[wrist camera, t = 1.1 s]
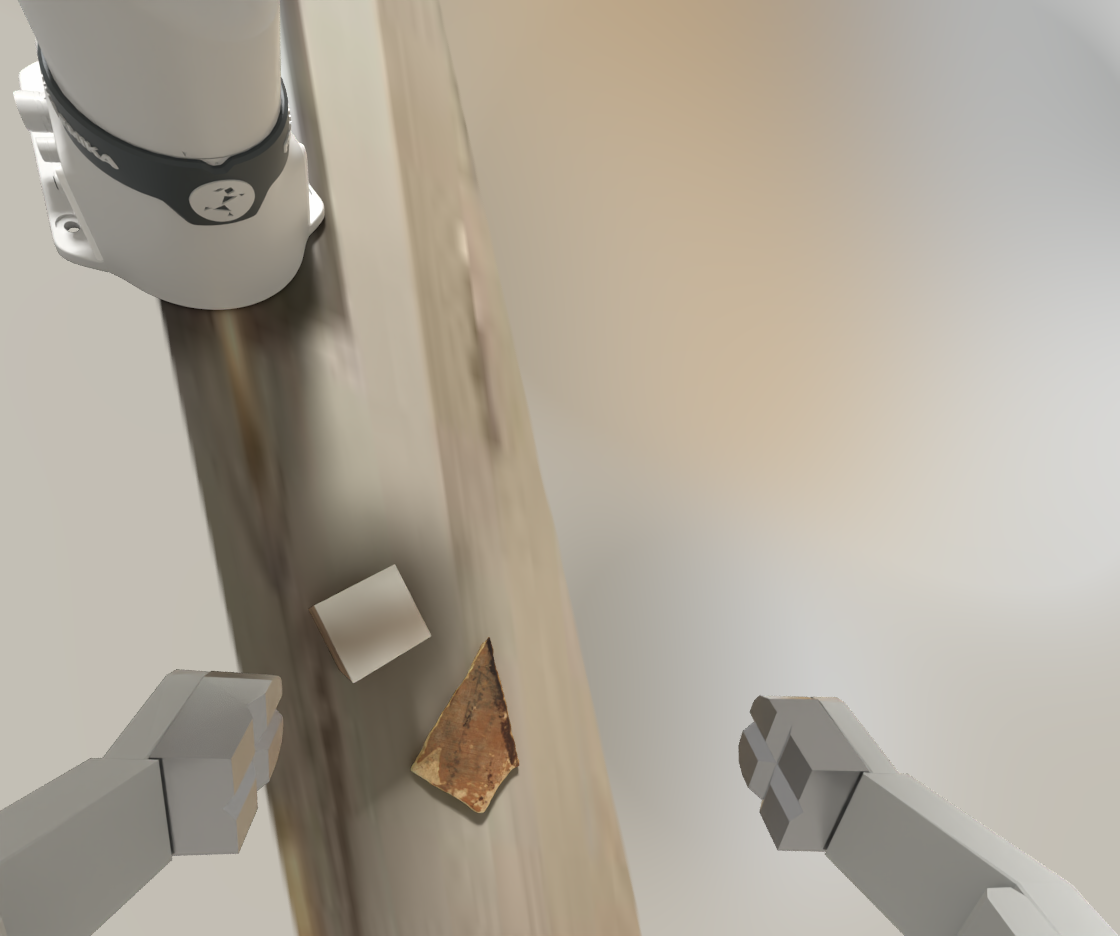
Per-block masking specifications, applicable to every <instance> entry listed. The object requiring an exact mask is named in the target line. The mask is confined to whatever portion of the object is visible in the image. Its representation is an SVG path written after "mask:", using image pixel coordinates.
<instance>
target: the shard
mask: <svg viewBox="0 0 1120 936" xmlns="http://www.w3.org/2000/svg"><path fill="white" fill-rule="evenodd" d="M518 766H519V760H518V758H517V752H516V748H515V742H514V738H513V736H512V732H511V724H510V720H509V716H508V711H507V705H506V701H505V698H504V693H503V689H502V685H501V681H500V678H499V675H498V672H497V670H496V666H495V662H494V657H493V648H492V645H491V641H490V637H488V639H487V640H486V641H485V643H482V645H481V647H480V650H479V651H478V653H477V655H476V657H475V658H474V661H473V662H472V665H471V667H470V670H469V672H468V674H467V676H466V678H465V679H464V681H463V682H462V684H461V685H460V686H459V687H458V689H457V690H456V691H455V692H454V694H453V696H452V698H451V699H450V701H449V703H448V705H447V707H446V708H445V709H444V711H443V712H442V713H441V716H440V717H439V719H438V721H437V723H436V725H435V726H434V727H433V729H432V730H431V732H430V733H429V734H428V736H427V738H426V740H425V742H424V745H423V749H422V750H421V751H420V753H419V755H418V756H417V758H416V760H415V762H414V764H413V765H412V767H411V771H412V772H413V773H415V774H416V775H418V776H420V777H422V778H423V779H425V780H427V781H428V782H429V783H430V784H431V785H433V786H435V787H437V788H439V789H440V790H442V791H444V792H446V793H448V794H450V795H452V796H454V797H456V798H457V799H459V800H460V801H462V802H463V803H464V804H466V805H467V806H468V807H470V809H471V810H473V811H475V812H477V813H483V812H485V810H486V808H487V807H488V805H489V803H490V801H491V799H492V797H493V796H494V794H495V792H496V790H497V788H498V787H499V785H500V784H501V782H502V781H503V780H504V779H505V778H506V776H507V775H508V774H509V772H510V771H511V770H512V769H514V768H516V767H518Z"/></svg>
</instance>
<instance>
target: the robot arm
mask: <svg viewBox="0 0 1120 936" xmlns="http://www.w3.org/2000/svg"><path fill="white" fill-rule="evenodd" d="M18 2H19V4H20V6H21V8H22V10H23V12H24V14H25V16H26V18H27V20H28V22H29V25H30V27H31V29H32V31H33V33H34V35H35V37H36V40H35V45H36V50H37V56H38V61H37V62H34V63H33V64H31V65H29V66H27V67H26V68H24V69H23V70H22V71H20V73H19V85H20V90H17V91H14V92H13V93H14V98H15V102H16V105H17V107H18V110H19V113H20V115H21V118H22V120H23V122H24V124H25V126H26V128H27V129H28V131H30V135H31V140H32V145H33V149H34V154H35V159H36V164H37V168H38V172H39V177H40V182H41V187H42V191H43V195H44V200H45V205H46V210H47V214H48V219H49V224H50V228H51V233H52V237H53V241H54V244H55V246H56V249H57V251H58V253H59V254H60V255H61V256H62V257H63V258H65V259H66V260H68V261H70V262H73V263H75V264H78V265H82V266H85V267H89V268H93V269H97V270H102V271H105V272H110V273H112V274H114V275H116V276H118V277H120V278H122V279H124V280H126V281H127V282H129V283H131V284H132V285H134V286H136V287H137V288H139V289H141V290H142V291H144V292H146V293H148V294H150V295H152V296H155V297H157V298H159V299H162V300H165V301H168V302H171V303H174V304H178V305H181V306H186V307H191V308H198V309H210V310H223V309H233V308H240V307H245V306H249V305H252V304H255V303H258V302H261V301H263V300H265V299H267V298H269V297H271V296H273V295H274V294H276V293H277V292H279V291H280V290H281V289H283V288H284V287H285V286H286V285H287V284H288V283H289V282H290V281H291V280H292V278H293V277H294V276H295V274H296V273H297V271H298V269H299V267H300V265H301V262H302V259H303V256H304V251H305V246H306V242H307V239H308V237H309V235H310V234H311V233H312V232H313V231H314V230H315V229H316V228H317V227H318V226H319V225H320V223H321V222H322V220H323V218H324V215H325V213H324V204H323V202H322V200H321V199H320V197H319V196H318V195H317V193H316V192H315V191H314V189H313V188H312V187H311V186H310V184H309V182H308V165H307V154H306V150H305V147H304V145H303V144H301V143H298V141H297V139H296V138H295V136H294V135H293V133H292V132H291V116H290V109H289V105H288V98H287V93H286V89H285V86H284V83H283V80H282V78H281V59H280V0H18ZM70 228H79V230H78V231H77V232H69V231H68V230H69V229H70ZM281 697H282V681H281V678H280V677H279V676H278V675H265V674H250V673H234V672H219V671H211V672H206V671H192V670H179V669H176V670H174V671H173V672H171V673H170V674H168V675H167V676H165V678H164V679H163V680H162V682H161V683H160V684H159V686H158V687H157V688H156V689H155V691H154V692H153V693H152V694H151V696H150V697H149V699H148V700H147V701H146V702H145V704H144V705H143V706H142V707H141V709H140V710H139V711H138V713H137V714H136V715H135V716H134V718H133V719H132V720H131V722H130V723H129V724H128V726H127V727H126V728H125V729H124V731H123V732H122V733H121V735H120V736H119V737H118V739H117V740H116V741H115V742H114V744H113V745H112V746H111V748H110V749H109V750H108V751H107V753H106V754H105V756H104V757H103V758H90V759H88V760H87V761H85V762H83V763H81V764H80V765H78V766H77V767H75V768H73V769H71V770H69V771H68V772H66V773H64V774H63V775H61V776H59V777H58V778H56V779H54V780H52V781H51V782H49V783H47V784H45V785H44V786H42V787H40V788H39V789H37V790H35V791H33V792H32V793H30V794H28V795H27V796H25V797H23V798H21V799H20V800H18V801H16V802H15V803H13V804H11V805H9V806H8V807H6V808H4V809H3V810H1V811H0V936H91V935H92V934H93V933H94V932H95V931H96V930H97V929H98V928H99V927H101V926H102V925H103V924H104V923H105V922H106V921H107V920H108V919H109V918H110V917H111V916H112V915H113V914H114V913H116V912H117V911H118V910H119V909H120V908H121V907H122V906H123V905H124V904H125V903H126V902H127V901H128V900H129V899H131V898H132V897H133V896H134V895H135V894H136V893H137V892H138V891H139V890H140V889H141V888H142V887H143V886H145V885H146V883H148V882H149V881H150V880H151V879H152V878H153V877H154V876H155V875H156V874H157V873H158V872H160V870H162V869H163V868H164V867H165V866H166V865H167V864H168V863H169V862H170V861H171V860H172V856H177V855H178V856H179V855H204V854H205V855H207V854H236V853H239V851H240V849H241V846H242V844H243V842H244V840H245V837H246V835H247V832H248V830H249V827H250V826H251V823H252V821H253V818H254V816H255V814H256V812H257V808H258V807H257V791H258V790H259V789H260V788H262V787H263V786H264V785H265V784H267V783H268V782H269V781H270V778H271V776H272V773H273V771H274V768H275V766H276V763H277V759H278V755H279V752H280V748H281V744H282V736H283V716H282V715H281V714H280V713H279V712H278V711H277V709H276V708H277V705H278V703H279V701H280V699H281ZM750 714H751V716H752V717H753V720H754V722H753V723H752V724H751V725H749V726H748V727H747V728H746V729H745V730H743V732H742V736H741V739H740V742H739V764H740V768H741V772H742V775H743V777H744V780H745V782H746V784H747V786H748V788H749V789H750V790H751V791H752V792H754V793H755V794H756V795H757V796H758V797H759V798H761V799H762V803H761V807H760V814H761V816H762V818H763V820H764V823H765V824H766V827H767V829H768V831H769V833H770V835H771V837H772V839H773V842H774V844H775V846H776V848H777V850H782V851H819V852H826V853H825V855H826V856H827V857H828V858H829V859H830V860H831V861H832V862H833V864H835V866H836V867H837V868H838V869H839V870H840V871H841V872H842V873H844V875H845V876H846V877H847V878H848V879H849V880H850V881H851V882H852V883H853V884H854V885H855V886H856V887H857V888H858V889H859V890H860V891H861V892H862V893H863V894H864V895H865V896H866V897H867V898H868V899H869V900H870V901H871V902H872V903H873V904H874V905H875V906H876V907H877V908H878V909H879V910H880V911H881V912H882V913H883V914H884V915H885V916H886V917H887V918H888V919H889V920H890V921H891V923H892V924H893V925H894V926H896V928H897V929H899V931H900V932H902V934H903V935H904V936H1118V935H1117V933H1116V932H1115V931H1114V930H1113V929H1112V928H1111V927H1110V926H1109V925H1108V923H1107V922H1106V921H1105V920H1104V919H1103V918H1102V917H1101V916H1100V915H1099V914H1098V913H1097V912H1096V910H1095V909H1094V908H1093V907H1092V906H1091V905H1090V904H1089V903H1088V901H1087V900H1086V899H1085V898H1084V897H1083V896H1082V895H1081V894H1080V893H1079V891H1078V890H1077V889H1076V888H1075V887H1074V886H1073V885H1072V884H1071V883H1069V882H1068V881H1066V880H1065V879H1063V878H1062V877H1060V876H1059V875H1058V874H1056V873H1055V872H1053V871H1051V870H1050V869H1049V868H1047V867H1045V866H1044V865H1043V864H1041V863H1040V862H1038V861H1037V860H1035V859H1034V858H1032V857H1031V856H1029V855H1028V854H1026V853H1025V852H1023V851H1022V850H1020V849H1019V848H1017V847H1016V846H1014V845H1013V844H1011V843H1010V842H1008V841H1007V840H1005V839H1004V838H1002V837H1001V836H1000V835H998V834H997V833H995V832H994V831H992V830H991V829H989V828H988V827H986V826H984V825H983V824H982V823H980V822H979V821H977V820H976V819H974V818H973V817H971V816H970V815H968V814H967V813H965V812H964V811H962V810H961V809H959V808H958V807H956V806H955V805H953V804H952V803H950V802H949V801H948V800H946V799H944V798H943V797H941V796H940V795H939V794H937V793H936V792H934V791H933V790H931V789H930V788H928V787H927V786H925V785H924V784H922V783H921V782H919V781H918V780H916V779H914V778H913V777H912V776H910V775H909V774H901V773H899V772H898V771H897V769H896V768H895V767H894V765H893V764H892V763H891V762H890V760H889V759H888V758H887V756H886V755H885V754H884V753H883V751H882V750H881V749H880V747H879V746H878V745H877V743H876V742H875V741H874V740H873V738H872V737H871V736H870V735H869V733H868V732H867V731H866V729H865V728H864V727H863V725H862V724H861V723H860V721H859V720H858V719H857V718H856V716H855V715H854V714H853V713H852V711H851V710H850V709H849V707H848V706H847V705H846V704H845V703H844V702H843V701H841V700H840V699H839V698H836V697H795V696H765V695H760V696H758V697H757V698H756V699H755V700H754V702H753V705H752V707H751V710H750Z"/></svg>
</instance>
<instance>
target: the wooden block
mask: <svg viewBox="0 0 1120 936" xmlns="http://www.w3.org/2000/svg"><path fill="white" fill-rule="evenodd" d="M309 611H310V613H311V615H312V617H313V619H314V621H315V623H316V625H317V627H318V629H319V631H320V633H321V635H322V637H323V639H324V641H325V643H326V645H327V647H328V649H329V651H330V653H331V655H332V657H333V659H334V661H335V663H336V665H337V666H338V668H339V670H340V671H341V672H342V673H343V674H344V675H345V676H346V677H347V678H348V679H350V680H351V681H352V682H353V683H355V682H357V681H358V680H360V679H362V678H363V677H365V676H367V675H368V674H370V673H372V672H373V671H375V670H377V669H378V668H380V667H381V666H383V665H385V664H386V663H388V662H390V661H391V660H393V659H395V658H396V657H398V656H400V655H401V654H403V653H405V652H406V651H408V650H410V649H411V648H413V647H414V646H416V645H418V644H419V643H421V642H423V641H424V640H426V639H428V638H429V637H431V634H430V632H429V630H428V628H427V626H426V624H425V622H424V620H423V618H422V616H421V614H420V612H419V610H418V608H417V606H416V605H415V603H414V601H413V599H412V597H411V595H410V593H409V591H408V589H407V587H406V585H405V583H404V581H403V579H402V577H401V575H400V573H399V571H398V569H397V567H396V565H395V564H394V565H392V566H390V567H388V568H386V569H384V570H382V571H380V572H378V573H376V574H374V575H372V576H370V577H369V578H367V579H365V580H363V581H361V582H359V583H357V584H355V585H353V586H351V587H349V588H347V589H345V590H343V591H341V592H339V593H337V594H336V595H334V596H332V597H330V598H328V599H326V600H324V601H322V602H320V603H318V604H316V605H314V606H312V607H311V608H309Z"/></svg>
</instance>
